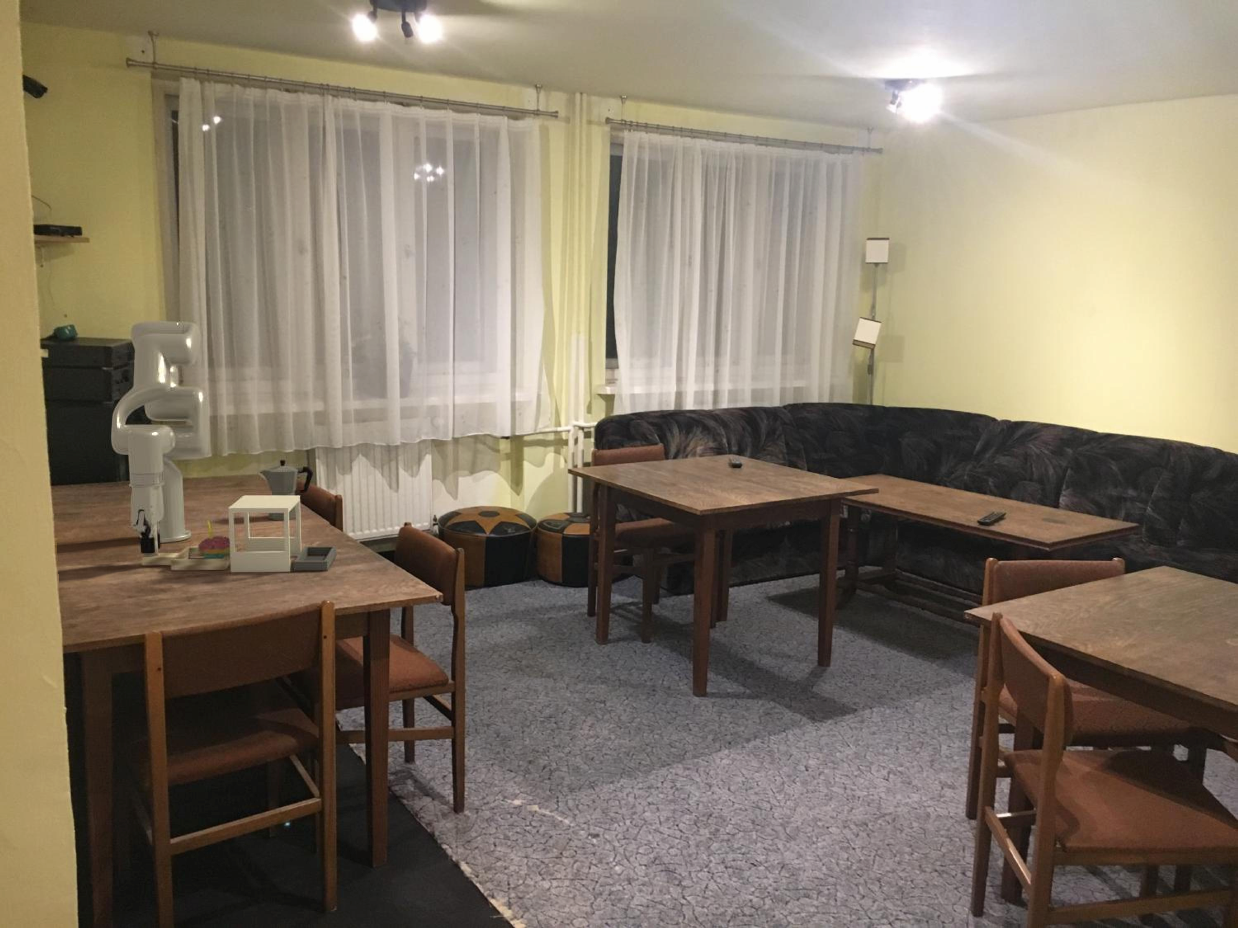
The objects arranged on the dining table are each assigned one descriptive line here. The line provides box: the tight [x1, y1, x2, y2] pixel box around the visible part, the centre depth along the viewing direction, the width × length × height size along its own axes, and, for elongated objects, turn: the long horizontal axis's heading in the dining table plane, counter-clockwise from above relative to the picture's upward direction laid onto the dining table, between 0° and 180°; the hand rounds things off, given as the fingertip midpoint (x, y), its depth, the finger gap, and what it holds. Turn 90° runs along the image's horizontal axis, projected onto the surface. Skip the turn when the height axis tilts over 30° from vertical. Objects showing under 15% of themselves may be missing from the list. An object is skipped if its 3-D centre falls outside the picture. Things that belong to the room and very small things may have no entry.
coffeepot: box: [259, 459, 314, 521], centre depth 292 cm, size 15×9×18 cm, turn 113°
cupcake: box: [197, 518, 230, 559], centre depth 239 cm, size 9×8×12 cm
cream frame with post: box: [141, 523, 239, 571], centre depth 238 cm, size 21×13×12 cm, turn 98°
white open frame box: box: [228, 494, 302, 573], centre depth 241 cm, size 14×15×16 cm
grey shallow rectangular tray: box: [293, 545, 337, 572], centre depth 243 cm, size 8×15×2 cm, turn 8°
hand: (150, 550), depth 237 cm, fingers closed on cream frame with post, 3 cm apart
